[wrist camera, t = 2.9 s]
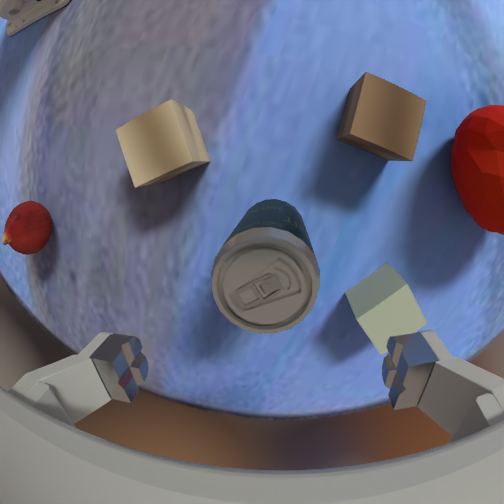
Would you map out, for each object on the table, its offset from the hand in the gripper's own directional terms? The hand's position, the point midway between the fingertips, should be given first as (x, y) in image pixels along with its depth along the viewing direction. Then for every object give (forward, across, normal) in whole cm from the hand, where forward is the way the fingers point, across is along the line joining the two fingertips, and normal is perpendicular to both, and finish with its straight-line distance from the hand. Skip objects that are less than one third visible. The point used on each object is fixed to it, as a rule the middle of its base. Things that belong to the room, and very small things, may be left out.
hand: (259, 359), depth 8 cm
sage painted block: (+17, -10, +7) cm, 21 cm away
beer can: (+17, 0, 0) cm, 17 cm away
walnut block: (+17, -9, -9) cm, 21 cm away
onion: (+17, +26, -3) cm, 31 cm away
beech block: (+17, +8, -8) cm, 20 cm away
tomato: (+17, -21, -6) cm, 28 cm away
